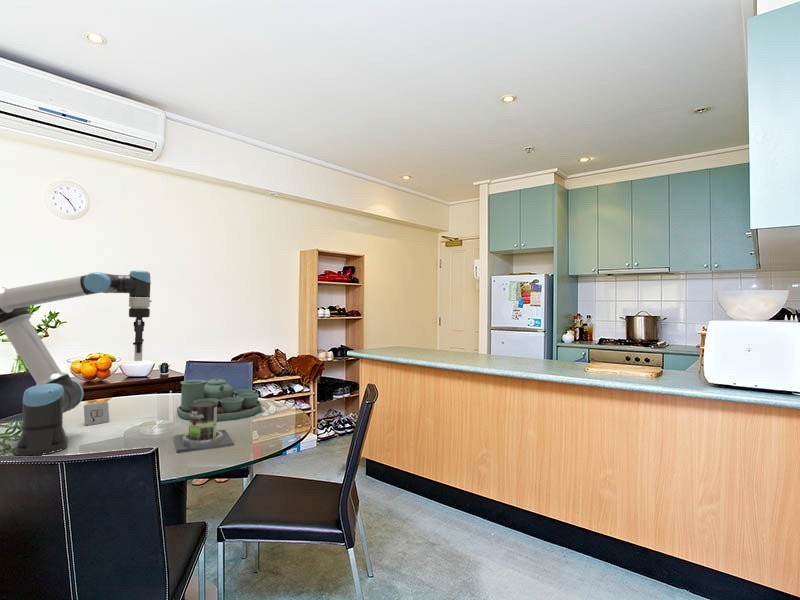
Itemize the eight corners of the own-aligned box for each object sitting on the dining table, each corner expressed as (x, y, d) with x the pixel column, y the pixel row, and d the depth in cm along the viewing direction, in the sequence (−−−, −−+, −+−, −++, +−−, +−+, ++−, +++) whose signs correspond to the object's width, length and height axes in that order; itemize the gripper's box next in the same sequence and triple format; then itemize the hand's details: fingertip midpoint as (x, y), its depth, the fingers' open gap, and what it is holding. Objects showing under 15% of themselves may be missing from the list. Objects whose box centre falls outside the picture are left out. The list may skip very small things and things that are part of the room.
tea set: (216, 426, 200) (217, 390, 200) (159, 415, 219) (160, 381, 219) (278, 409, 236) (278, 378, 236) (224, 400, 254) (225, 371, 254)
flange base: (176, 452, 164) (177, 446, 164) (173, 438, 182) (173, 432, 182) (233, 445, 175) (233, 438, 175) (224, 431, 192) (225, 426, 192)
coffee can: (204, 444, 172) (205, 407, 172) (182, 441, 175) (183, 405, 175) (222, 436, 181) (223, 402, 181) (201, 434, 184) (202, 400, 185)
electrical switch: (85, 426, 196) (85, 405, 197) (81, 425, 199) (81, 404, 200) (109, 422, 203) (109, 401, 204) (105, 421, 206) (105, 401, 207)
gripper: (150, 308, 176) (149, 362, 176) (149, 307, 197) (147, 355, 197) (128, 308, 172) (127, 363, 172) (129, 307, 194) (128, 355, 193)
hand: (138, 358), depth 185 cm, fingers open, 13 cm apart
